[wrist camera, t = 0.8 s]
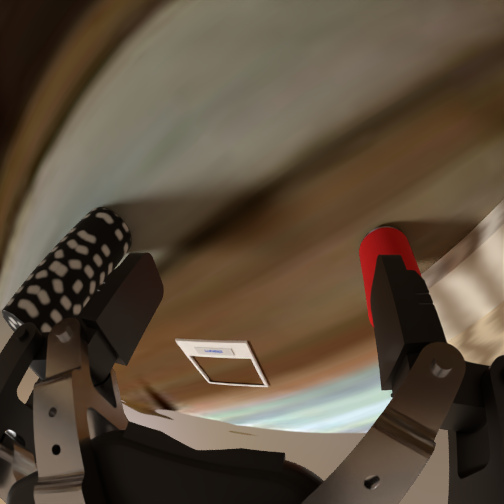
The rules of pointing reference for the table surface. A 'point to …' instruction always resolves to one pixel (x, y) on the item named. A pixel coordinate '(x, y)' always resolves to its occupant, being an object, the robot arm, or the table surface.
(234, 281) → the table surface
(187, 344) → the photo frame
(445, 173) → the table surface
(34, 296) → the white-spotted black cylinder
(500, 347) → the counter stand
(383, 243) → the beverage can
